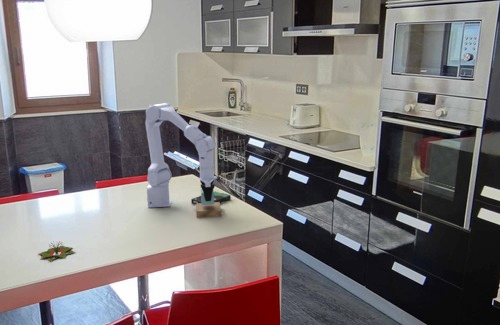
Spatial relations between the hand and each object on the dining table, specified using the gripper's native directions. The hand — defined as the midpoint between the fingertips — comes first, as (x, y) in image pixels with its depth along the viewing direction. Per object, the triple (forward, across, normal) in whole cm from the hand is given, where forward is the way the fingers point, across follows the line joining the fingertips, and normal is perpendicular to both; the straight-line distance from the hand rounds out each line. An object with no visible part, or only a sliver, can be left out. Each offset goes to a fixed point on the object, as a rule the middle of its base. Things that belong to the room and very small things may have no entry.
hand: (207, 198), depth 188 cm
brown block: (+6, 0, 0) cm, 6 cm away
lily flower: (+7, -31, +52) cm, 61 cm away
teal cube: (+2, 0, 0) cm, 2 cm away
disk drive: (+7, +14, -2) cm, 15 cm away
